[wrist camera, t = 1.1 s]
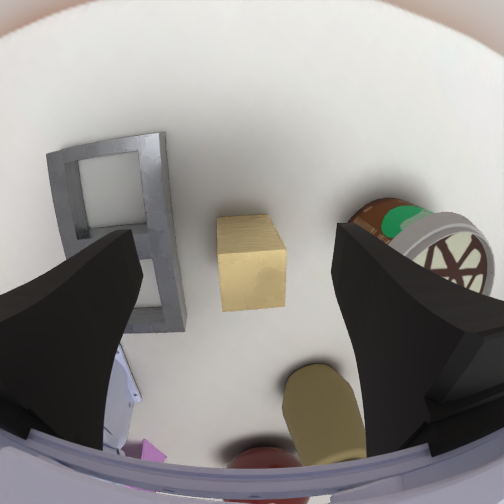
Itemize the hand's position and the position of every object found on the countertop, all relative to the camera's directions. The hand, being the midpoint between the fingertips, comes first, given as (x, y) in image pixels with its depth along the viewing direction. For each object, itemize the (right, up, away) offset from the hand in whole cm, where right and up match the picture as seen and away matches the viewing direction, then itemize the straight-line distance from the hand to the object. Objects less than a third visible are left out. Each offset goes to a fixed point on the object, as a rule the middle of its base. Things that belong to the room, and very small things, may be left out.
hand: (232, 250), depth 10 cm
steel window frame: (-10, +1, +13) cm, 16 cm away
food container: (+14, +3, +15) cm, 21 cm away
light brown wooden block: (0, +1, +14) cm, 14 cm away
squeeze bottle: (+7, -15, +22) cm, 28 cm away
